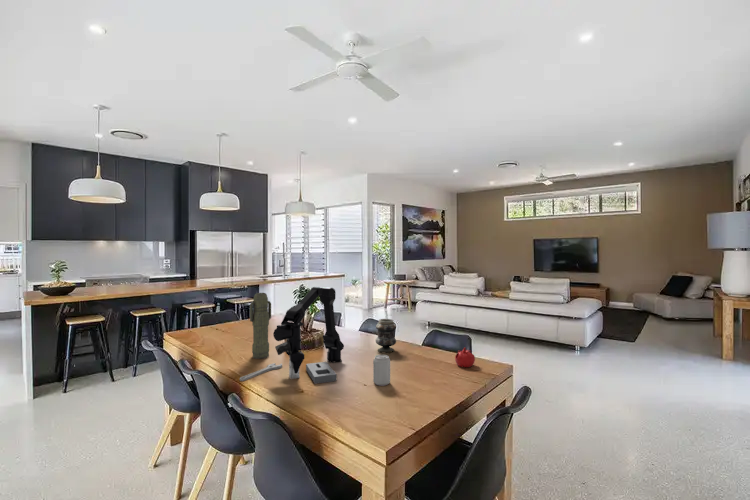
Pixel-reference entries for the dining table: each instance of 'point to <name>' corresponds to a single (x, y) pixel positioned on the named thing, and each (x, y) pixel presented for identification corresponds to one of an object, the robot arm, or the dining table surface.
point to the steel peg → (292, 371)
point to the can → (381, 370)
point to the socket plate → (321, 372)
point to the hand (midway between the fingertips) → (294, 370)
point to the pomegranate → (464, 358)
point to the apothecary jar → (386, 335)
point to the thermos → (260, 325)
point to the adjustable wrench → (261, 371)
